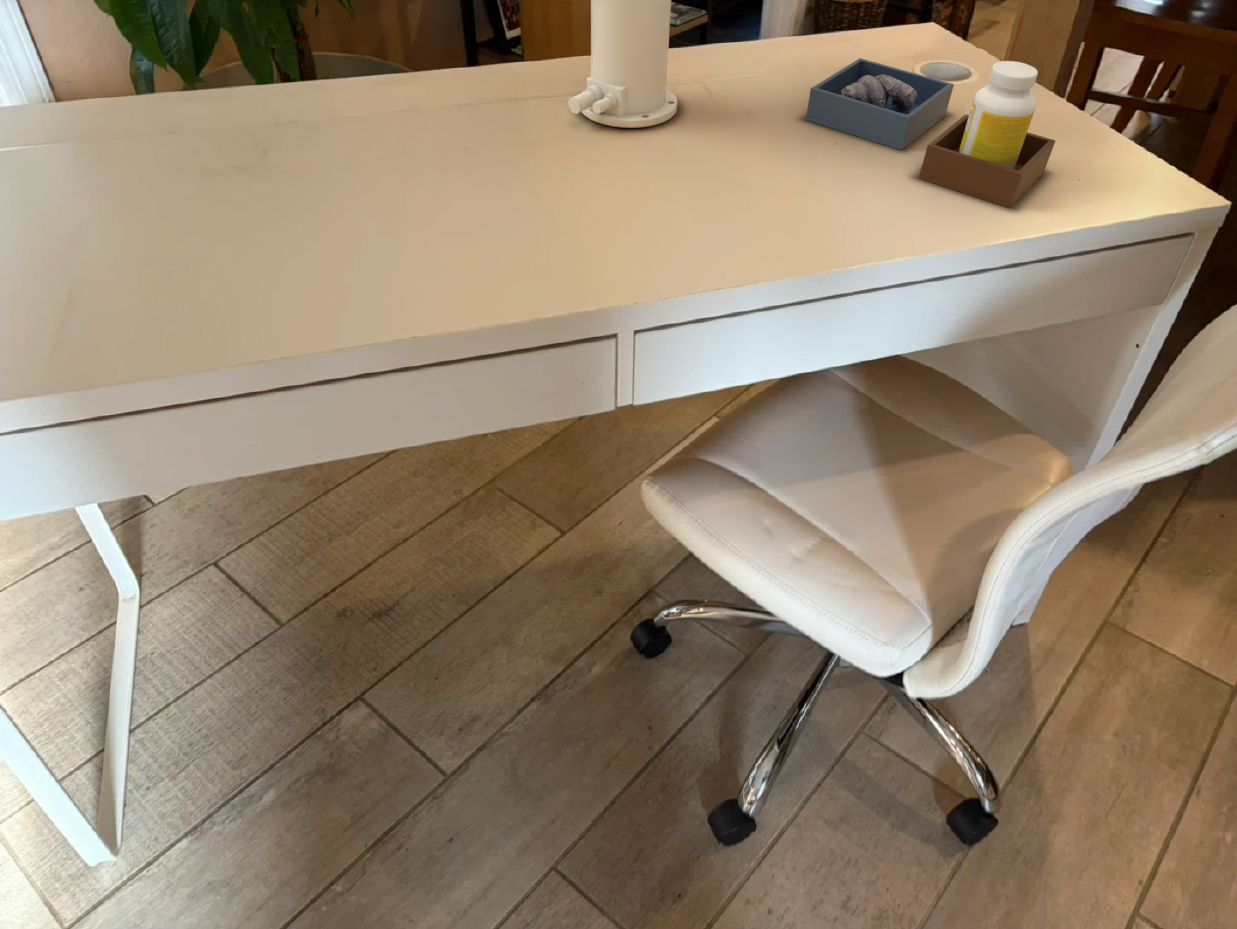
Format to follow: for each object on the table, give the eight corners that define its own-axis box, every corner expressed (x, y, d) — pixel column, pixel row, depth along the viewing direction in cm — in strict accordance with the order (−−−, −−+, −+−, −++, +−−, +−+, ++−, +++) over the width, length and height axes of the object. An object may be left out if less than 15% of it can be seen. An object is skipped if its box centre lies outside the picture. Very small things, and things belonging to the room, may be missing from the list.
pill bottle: (1018, 185, 102) (1055, 81, 94) (961, 184, 102) (993, 79, 94) (1002, 159, 107) (1036, 58, 99) (947, 157, 107) (977, 56, 99)
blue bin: (901, 150, 109) (909, 117, 106) (805, 119, 115) (810, 87, 112) (945, 115, 117) (954, 83, 114) (853, 88, 122) (859, 57, 119)
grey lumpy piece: (906, 118, 117) (834, 127, 116) (901, 75, 117) (829, 83, 115) (927, 107, 112) (852, 115, 110) (922, 62, 111) (847, 70, 110)
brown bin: (1009, 208, 99) (1022, 174, 96) (918, 178, 104) (927, 144, 101) (1043, 173, 105) (1055, 140, 103) (955, 146, 110) (965, 113, 107)
